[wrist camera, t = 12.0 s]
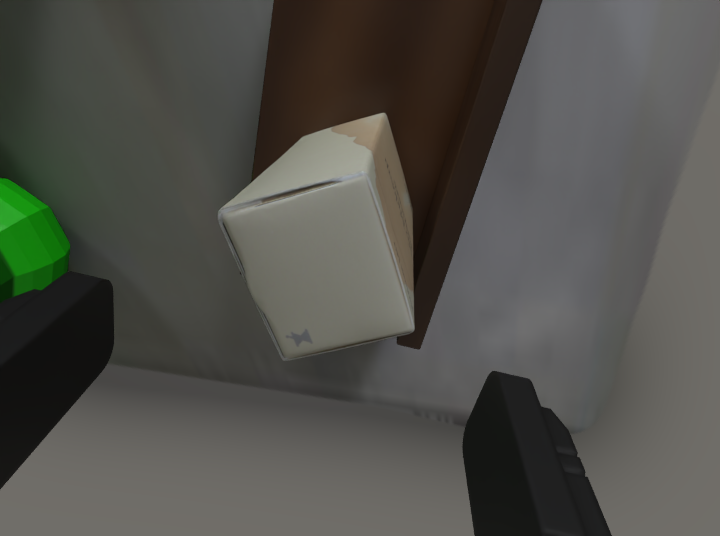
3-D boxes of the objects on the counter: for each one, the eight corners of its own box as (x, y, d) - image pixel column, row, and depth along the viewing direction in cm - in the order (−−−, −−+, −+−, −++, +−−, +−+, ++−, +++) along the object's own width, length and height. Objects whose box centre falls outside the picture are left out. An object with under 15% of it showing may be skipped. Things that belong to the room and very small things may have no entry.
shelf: (269, 229, 32) (220, 303, 23) (335, -206, 22) (290, -356, 13) (415, 264, 32) (420, 350, 24) (546, -149, 22) (635, -262, 14)
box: (414, 212, 24) (421, 344, 14) (331, 233, 24) (281, 372, 14) (384, 104, 21) (367, 168, 12) (295, 131, 22) (208, 214, 12)
